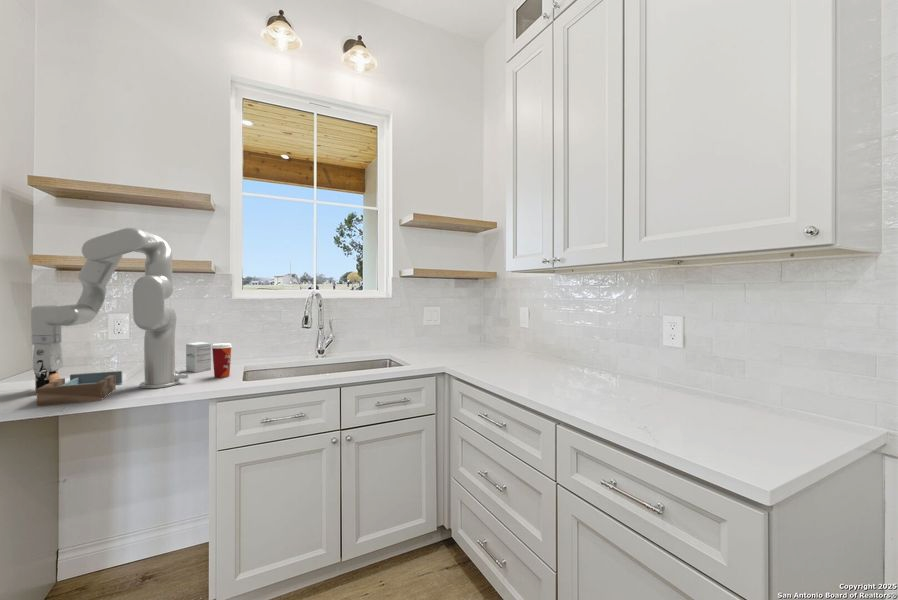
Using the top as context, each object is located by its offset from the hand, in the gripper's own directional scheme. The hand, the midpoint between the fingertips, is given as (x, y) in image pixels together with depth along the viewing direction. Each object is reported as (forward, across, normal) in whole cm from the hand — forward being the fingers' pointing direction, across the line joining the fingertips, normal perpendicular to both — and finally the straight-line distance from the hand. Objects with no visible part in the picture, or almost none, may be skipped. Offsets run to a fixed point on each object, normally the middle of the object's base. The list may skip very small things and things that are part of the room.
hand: (47, 388), depth 140 cm
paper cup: (+1, +2, -54) cm, 55 cm away
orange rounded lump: (+1, 0, 0) cm, 1 cm away
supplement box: (+1, +20, -44) cm, 48 cm away
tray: (+1, -5, -13) cm, 14 cm away
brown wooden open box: (+1, -14, -13) cm, 19 cm away
